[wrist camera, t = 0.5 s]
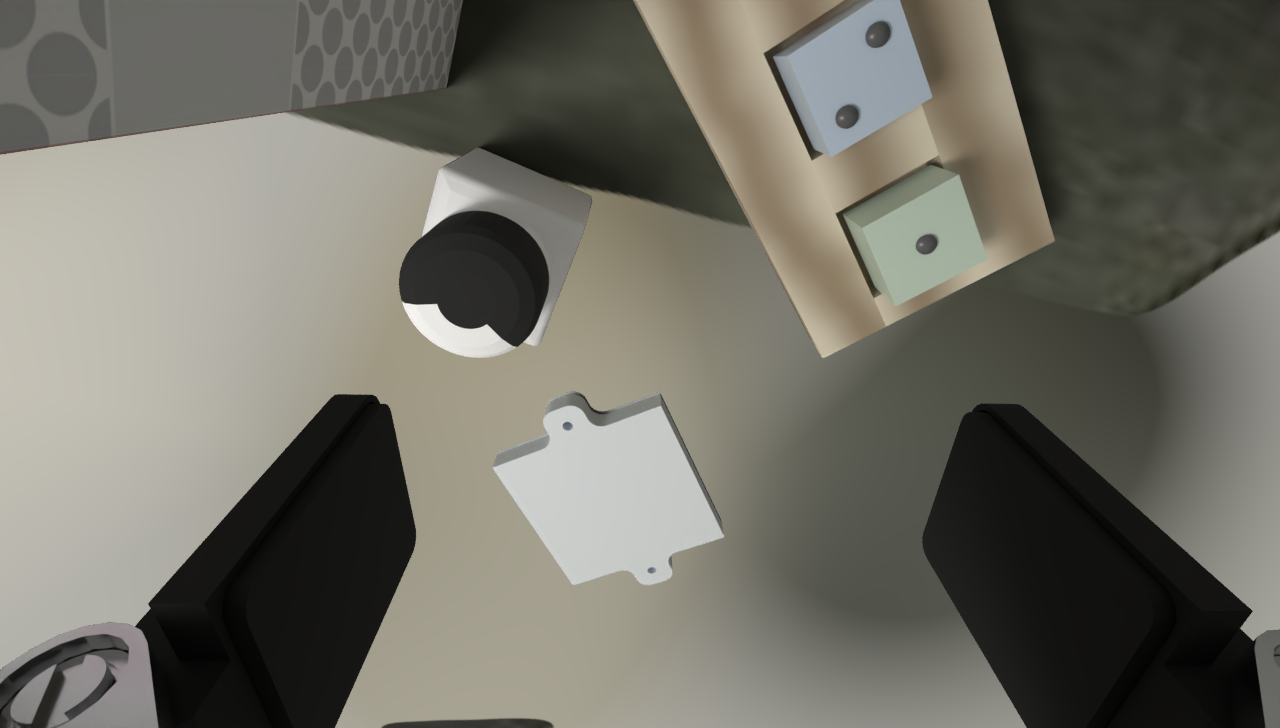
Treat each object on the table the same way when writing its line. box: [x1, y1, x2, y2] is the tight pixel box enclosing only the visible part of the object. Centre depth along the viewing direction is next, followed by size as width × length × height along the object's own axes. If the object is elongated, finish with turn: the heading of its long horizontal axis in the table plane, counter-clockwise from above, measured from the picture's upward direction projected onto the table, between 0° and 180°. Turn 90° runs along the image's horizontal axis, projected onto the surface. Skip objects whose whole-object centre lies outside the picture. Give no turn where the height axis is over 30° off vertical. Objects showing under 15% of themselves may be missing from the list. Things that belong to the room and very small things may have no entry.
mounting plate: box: [492, 391, 724, 585], centre depth 44 cm, size 18×13×2 cm
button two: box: [773, 0, 932, 157], centre depth 27 cm, size 5×5×3 cm
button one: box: [843, 165, 988, 306], centre depth 31 cm, size 5×5×3 cm
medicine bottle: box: [399, 148, 592, 358], centre depth 29 cm, size 7×7×12 cm
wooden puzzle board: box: [633, 0, 1055, 358], centre depth 30 cm, size 14×28×3 cm, turn 31°
